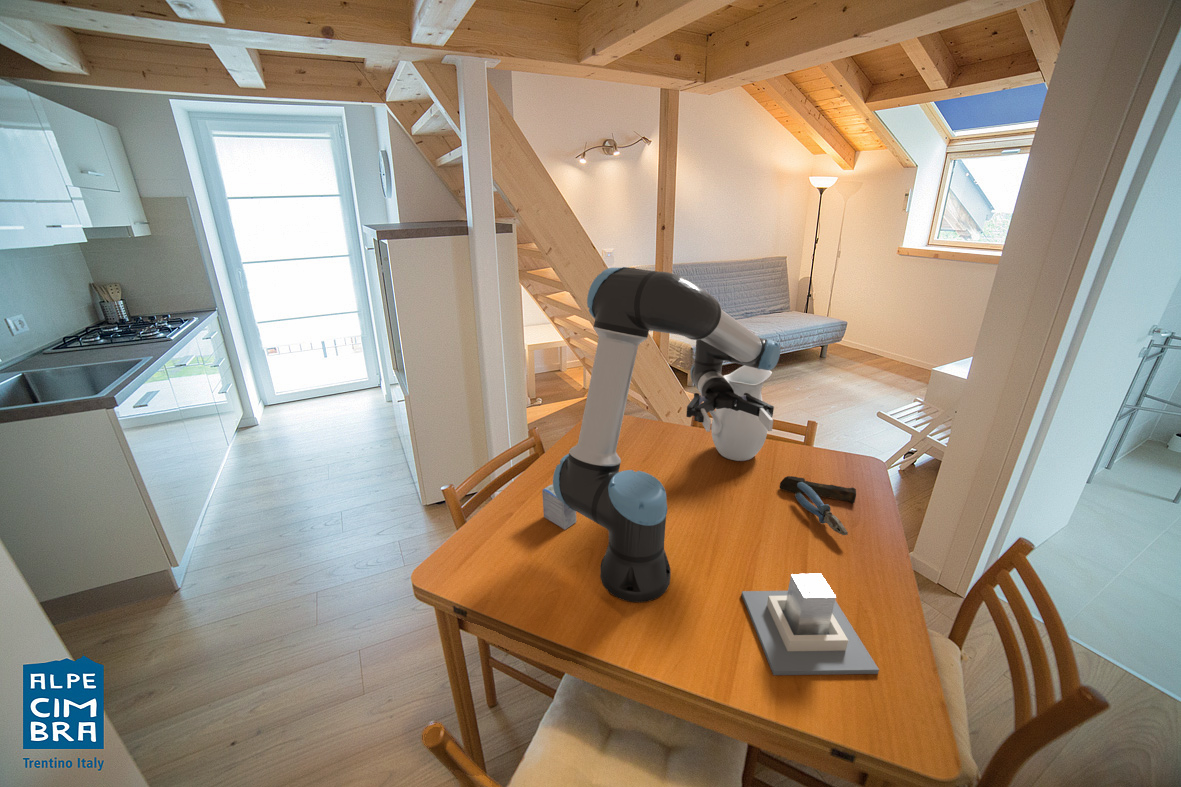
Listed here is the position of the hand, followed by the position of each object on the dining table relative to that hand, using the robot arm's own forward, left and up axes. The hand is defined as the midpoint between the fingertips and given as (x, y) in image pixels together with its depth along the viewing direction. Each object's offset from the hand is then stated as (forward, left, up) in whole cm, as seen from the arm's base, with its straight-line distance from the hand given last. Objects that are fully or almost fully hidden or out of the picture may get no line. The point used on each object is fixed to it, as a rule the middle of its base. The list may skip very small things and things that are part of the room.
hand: (739, 426), depth 104 cm
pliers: (+25, -7, -30) cm, 40 cm away
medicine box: (-31, +27, -30) cm, 51 cm away
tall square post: (-7, -27, -29) cm, 40 cm away
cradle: (-7, -27, -30) cm, 41 cm away
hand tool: (+34, 0, -30) cm, 46 cm away
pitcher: (+30, +29, -30) cm, 52 cm away
